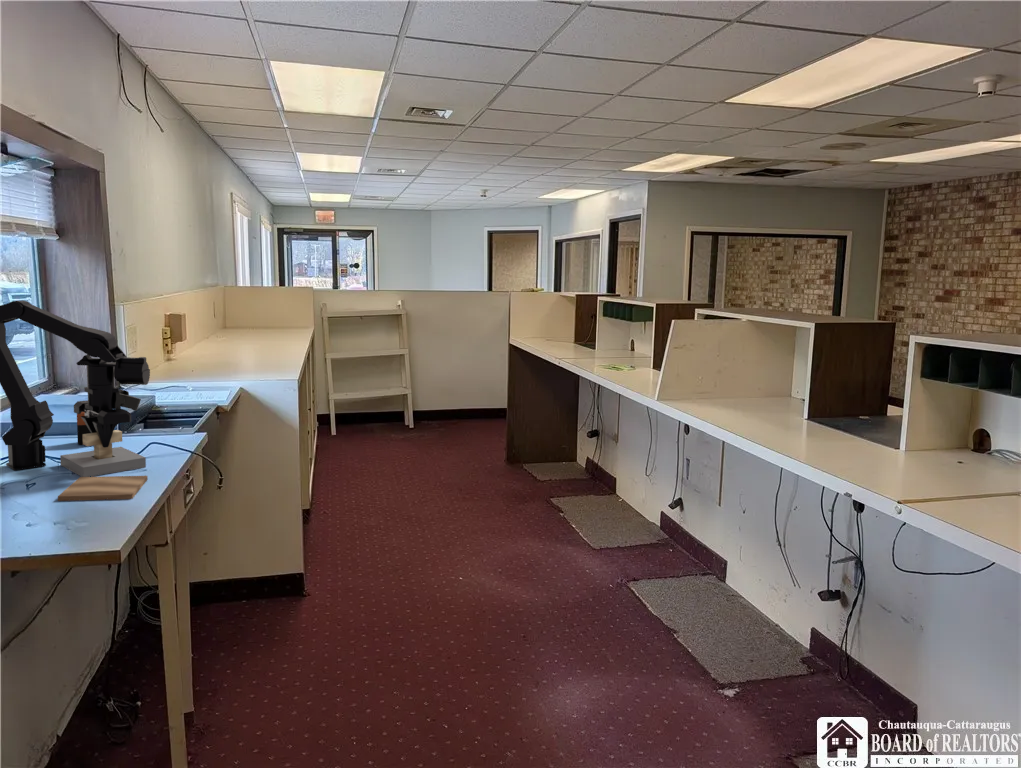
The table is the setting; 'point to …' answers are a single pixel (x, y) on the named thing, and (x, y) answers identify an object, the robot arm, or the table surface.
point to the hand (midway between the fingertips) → (102, 445)
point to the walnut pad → (103, 488)
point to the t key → (99, 450)
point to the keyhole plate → (102, 462)
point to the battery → (81, 428)
